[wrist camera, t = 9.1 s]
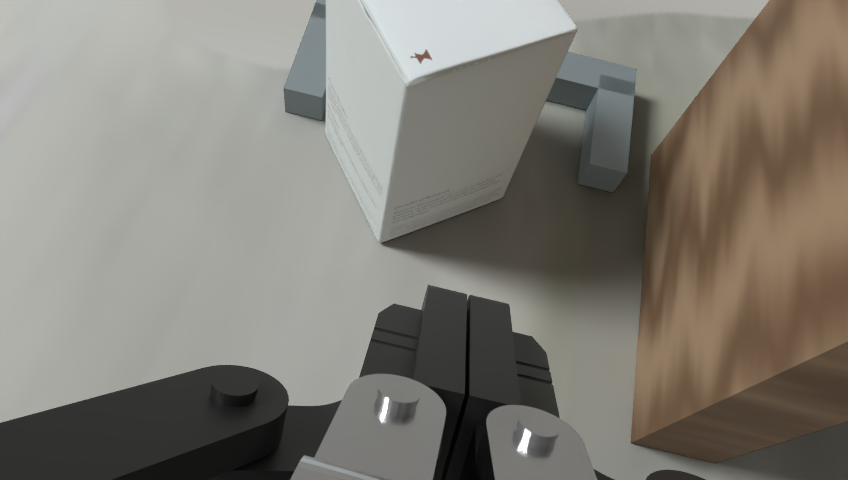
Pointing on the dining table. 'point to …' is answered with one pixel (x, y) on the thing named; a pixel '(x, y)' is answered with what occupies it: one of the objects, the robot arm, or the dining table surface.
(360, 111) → the supplement box
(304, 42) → the slate bay
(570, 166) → the dining table surface
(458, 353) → the robot arm
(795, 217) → the walnut partition
